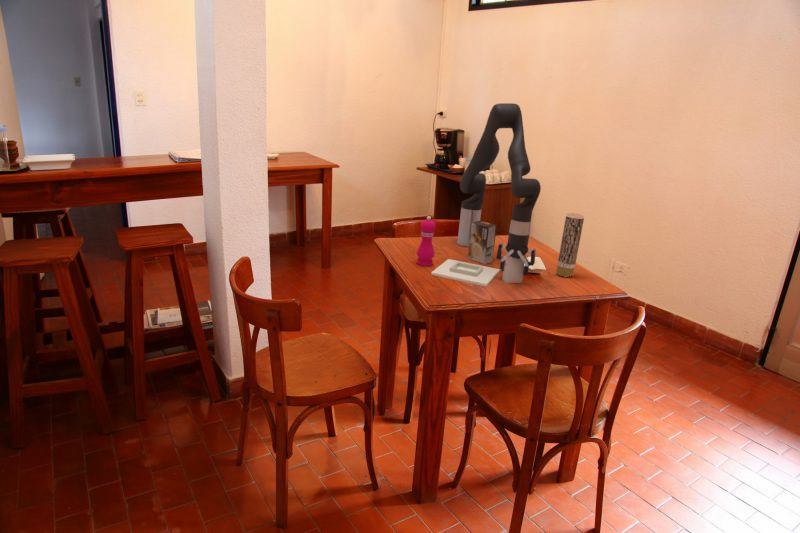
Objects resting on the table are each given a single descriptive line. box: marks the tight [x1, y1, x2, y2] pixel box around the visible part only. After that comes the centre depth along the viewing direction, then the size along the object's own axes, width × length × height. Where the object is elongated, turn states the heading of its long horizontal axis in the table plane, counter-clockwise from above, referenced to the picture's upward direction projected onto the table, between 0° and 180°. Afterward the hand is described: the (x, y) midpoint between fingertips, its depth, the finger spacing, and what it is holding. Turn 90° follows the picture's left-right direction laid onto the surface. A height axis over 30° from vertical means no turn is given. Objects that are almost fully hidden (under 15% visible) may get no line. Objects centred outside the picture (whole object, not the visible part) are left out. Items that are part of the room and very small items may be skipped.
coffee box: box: [467, 220, 498, 265], centre depth 227 cm, size 9×6×16 cm
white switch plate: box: [430, 258, 501, 287], centre depth 212 cm, size 20×22×2 cm
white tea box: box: [501, 256, 525, 284], centre depth 206 cm, size 4×7×10 cm, turn 103°
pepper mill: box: [416, 215, 437, 267], centre depth 216 cm, size 7×7×20 cm
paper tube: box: [555, 212, 585, 278], centre depth 214 cm, size 7×7×25 cm
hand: (513, 272), depth 206 cm, fingers open, 8 cm apart
